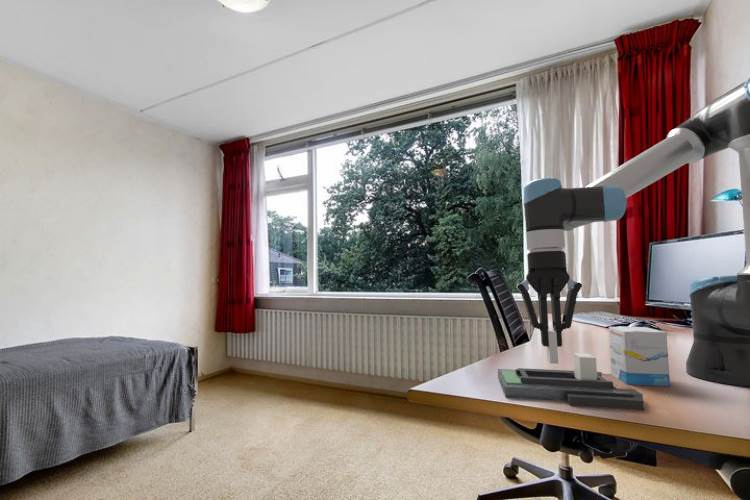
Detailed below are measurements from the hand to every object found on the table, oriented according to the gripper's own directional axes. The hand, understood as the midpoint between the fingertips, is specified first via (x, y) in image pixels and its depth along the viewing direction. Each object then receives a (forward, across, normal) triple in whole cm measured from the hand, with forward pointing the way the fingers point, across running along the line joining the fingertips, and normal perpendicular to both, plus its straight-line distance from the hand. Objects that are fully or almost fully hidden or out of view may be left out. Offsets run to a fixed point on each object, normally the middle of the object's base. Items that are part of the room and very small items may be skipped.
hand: (552, 361), depth 77 cm
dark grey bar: (+6, -6, +9) cm, 12 cm away
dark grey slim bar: (+6, -3, -9) cm, 11 cm away
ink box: (+6, -20, -11) cm, 24 cm away
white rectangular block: (+4, -6, 0) cm, 7 cm away
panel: (+6, -1, 0) cm, 6 cm away
